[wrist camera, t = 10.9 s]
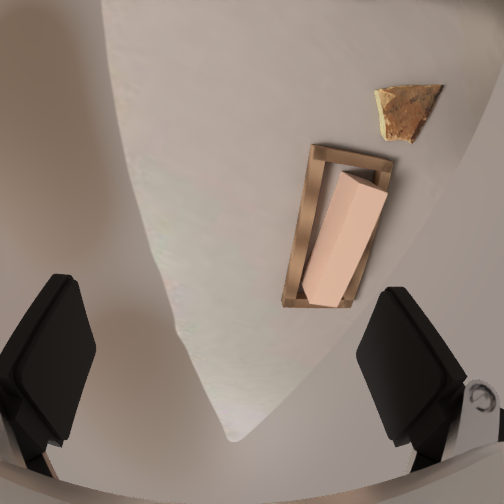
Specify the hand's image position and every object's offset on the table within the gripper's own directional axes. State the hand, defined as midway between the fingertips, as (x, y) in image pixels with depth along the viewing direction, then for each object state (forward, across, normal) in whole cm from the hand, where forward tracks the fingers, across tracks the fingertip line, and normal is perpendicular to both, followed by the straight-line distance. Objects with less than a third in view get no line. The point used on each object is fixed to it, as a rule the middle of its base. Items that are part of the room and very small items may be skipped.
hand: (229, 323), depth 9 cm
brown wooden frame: (+28, -15, +9) cm, 33 cm away
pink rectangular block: (+28, -15, +9) cm, 33 cm away
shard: (+28, -21, -10) cm, 37 cm away
